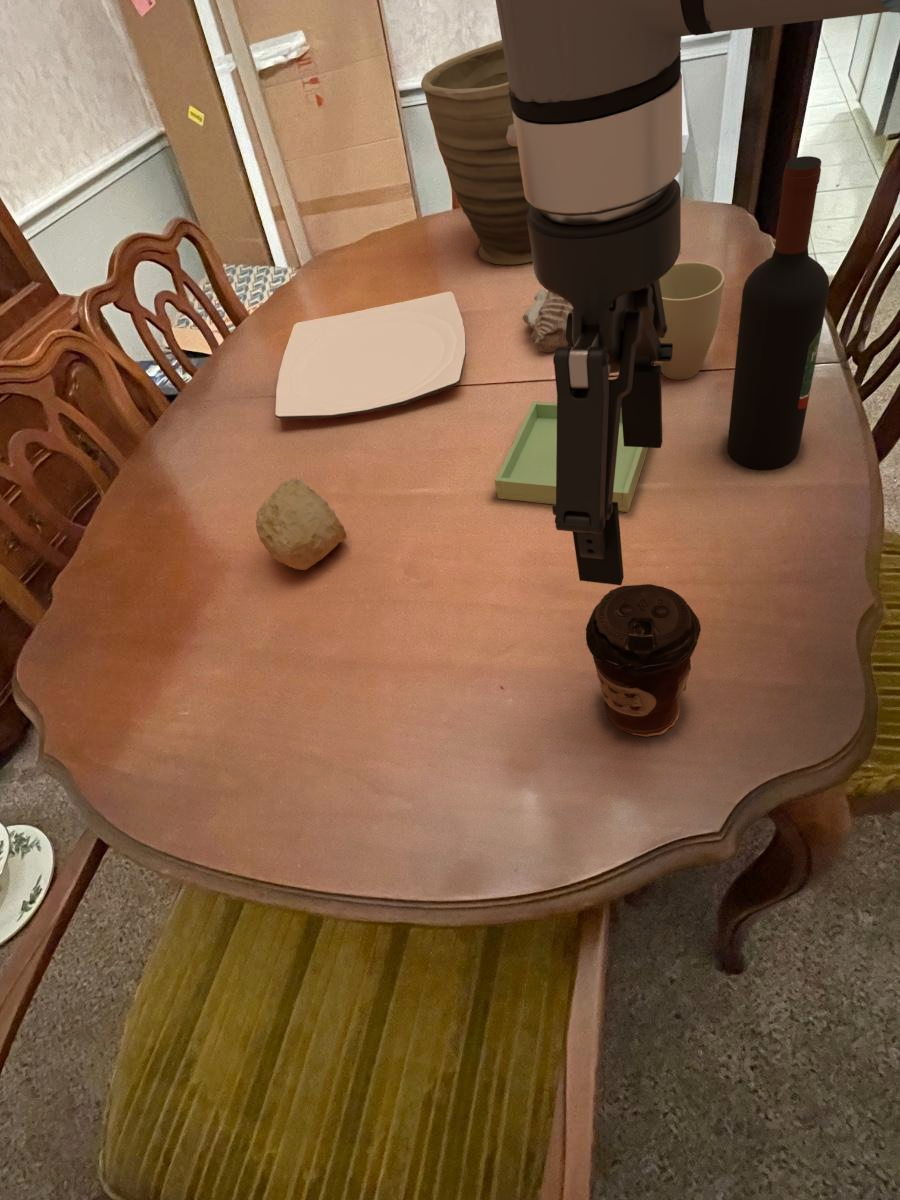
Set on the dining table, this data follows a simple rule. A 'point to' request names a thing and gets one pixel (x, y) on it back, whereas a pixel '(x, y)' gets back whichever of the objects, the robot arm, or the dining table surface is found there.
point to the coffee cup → (642, 655)
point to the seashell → (548, 320)
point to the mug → (690, 315)
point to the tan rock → (298, 525)
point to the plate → (371, 359)
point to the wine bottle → (779, 333)
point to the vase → (481, 149)
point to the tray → (535, 462)
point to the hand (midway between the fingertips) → (623, 507)
